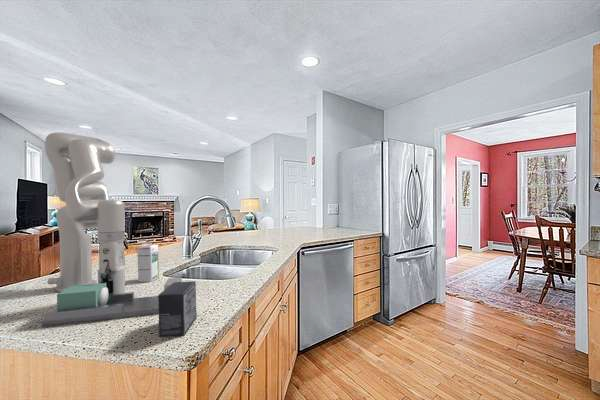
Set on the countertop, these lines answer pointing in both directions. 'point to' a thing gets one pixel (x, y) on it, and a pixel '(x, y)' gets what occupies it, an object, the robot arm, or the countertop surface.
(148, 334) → the countertop surface
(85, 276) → the robot arm
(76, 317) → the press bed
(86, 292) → the block
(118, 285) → the can
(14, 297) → the countertop surface
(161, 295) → the small box
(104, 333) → the countertop surface
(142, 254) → the syrup box
